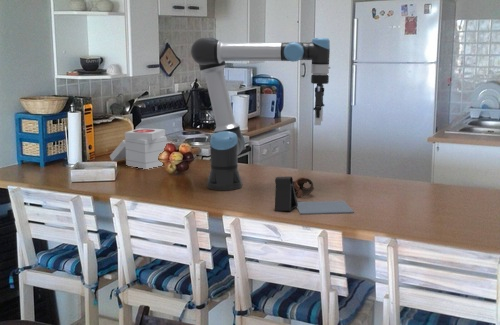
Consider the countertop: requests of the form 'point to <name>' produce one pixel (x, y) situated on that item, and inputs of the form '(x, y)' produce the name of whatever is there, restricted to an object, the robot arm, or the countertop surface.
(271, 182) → the countertop surface
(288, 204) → the phone stand
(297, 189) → the pottery mug
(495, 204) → the countertop surface
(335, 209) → the slate mat
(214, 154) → the robot arm
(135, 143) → the pizza boxes
